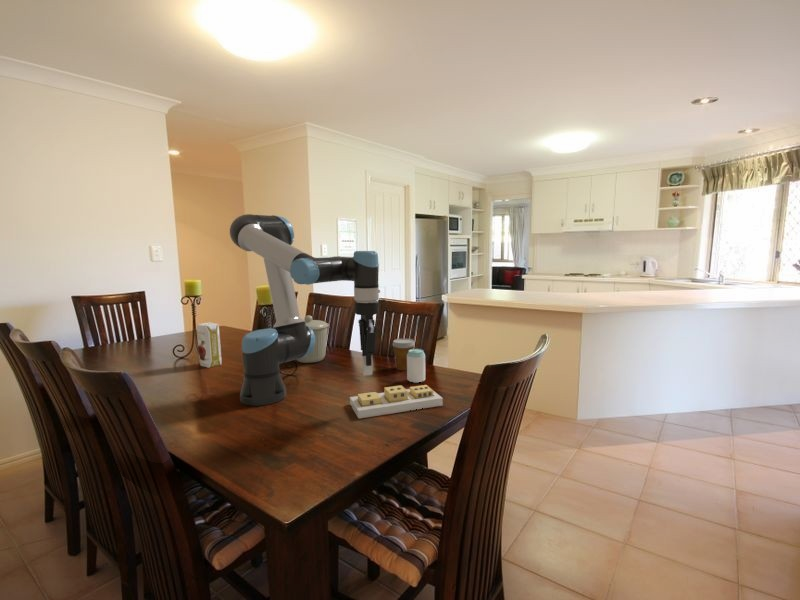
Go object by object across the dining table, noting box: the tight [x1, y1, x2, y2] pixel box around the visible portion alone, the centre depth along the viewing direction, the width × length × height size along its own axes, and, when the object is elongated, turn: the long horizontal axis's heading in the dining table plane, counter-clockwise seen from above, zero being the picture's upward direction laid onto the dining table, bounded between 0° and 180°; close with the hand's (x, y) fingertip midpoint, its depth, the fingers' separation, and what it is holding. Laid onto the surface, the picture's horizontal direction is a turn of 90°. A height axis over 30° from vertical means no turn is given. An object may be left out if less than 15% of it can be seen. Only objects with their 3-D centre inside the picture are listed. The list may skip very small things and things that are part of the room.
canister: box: [295, 314, 330, 364], centre depth 185 cm, size 18×18×21 cm
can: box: [406, 348, 426, 384], centre depth 155 cm, size 7×7×12 cm
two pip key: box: [383, 385, 408, 403], centre depth 131 cm, size 6×6×4 cm
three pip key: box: [409, 384, 434, 399], centre depth 134 cm, size 6×6×4 cm
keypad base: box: [349, 388, 444, 420], centre depth 132 cm, size 28×12×2 cm, turn 109°
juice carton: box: [196, 321, 222, 369], centre depth 179 cm, size 8×9×19 cm
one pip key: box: [357, 391, 381, 407], centre depth 128 cm, size 6×6×4 cm
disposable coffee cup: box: [391, 338, 416, 371], centre depth 171 cm, size 10×10×12 cm
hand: (367, 374), depth 128 cm, fingers closed
